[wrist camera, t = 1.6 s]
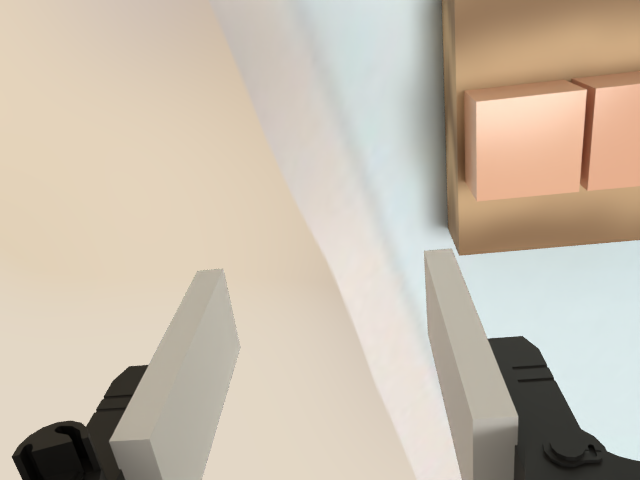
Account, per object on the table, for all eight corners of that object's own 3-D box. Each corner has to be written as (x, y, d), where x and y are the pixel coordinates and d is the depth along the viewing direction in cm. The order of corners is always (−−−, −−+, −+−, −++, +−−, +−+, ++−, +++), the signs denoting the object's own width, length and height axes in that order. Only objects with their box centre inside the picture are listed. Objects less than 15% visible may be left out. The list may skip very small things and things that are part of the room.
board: (441, -5, 31) (454, -3, 27) (650, -32, 30) (693, -34, 26) (448, 228, 36) (459, 255, 33) (623, 212, 35) (655, 238, 32)
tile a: (464, 90, 29) (476, 101, 26) (563, 79, 28) (586, 89, 26) (465, 182, 31) (476, 201, 28) (558, 173, 30) (579, 191, 28)
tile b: (571, 78, 28) (596, 88, 26) (675, 66, 28) (710, 75, 25) (565, 172, 30) (587, 190, 28) (661, 162, 30) (693, 180, 27)
